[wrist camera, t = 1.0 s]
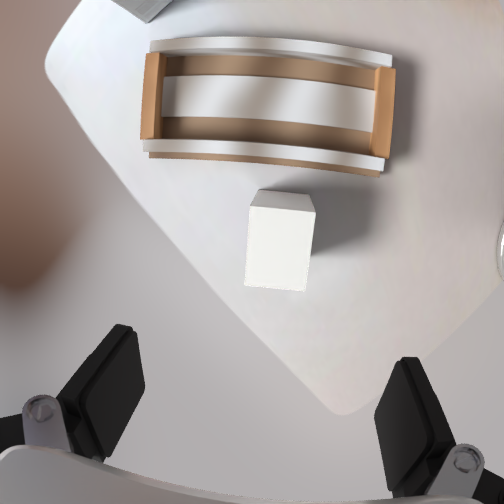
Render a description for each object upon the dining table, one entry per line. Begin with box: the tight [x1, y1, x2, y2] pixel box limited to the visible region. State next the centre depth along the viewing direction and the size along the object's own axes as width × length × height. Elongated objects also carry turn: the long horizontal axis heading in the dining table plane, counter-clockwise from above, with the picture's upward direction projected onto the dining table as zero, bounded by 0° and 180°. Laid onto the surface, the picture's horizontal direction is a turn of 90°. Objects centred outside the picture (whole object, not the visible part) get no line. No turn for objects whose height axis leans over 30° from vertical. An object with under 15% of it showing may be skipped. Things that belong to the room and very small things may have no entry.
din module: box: [245, 190, 316, 292], centre depth 26 cm, size 4×6×7 cm
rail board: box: [140, 37, 396, 177], centre depth 24 cm, size 20×11×4 cm, turn 86°
